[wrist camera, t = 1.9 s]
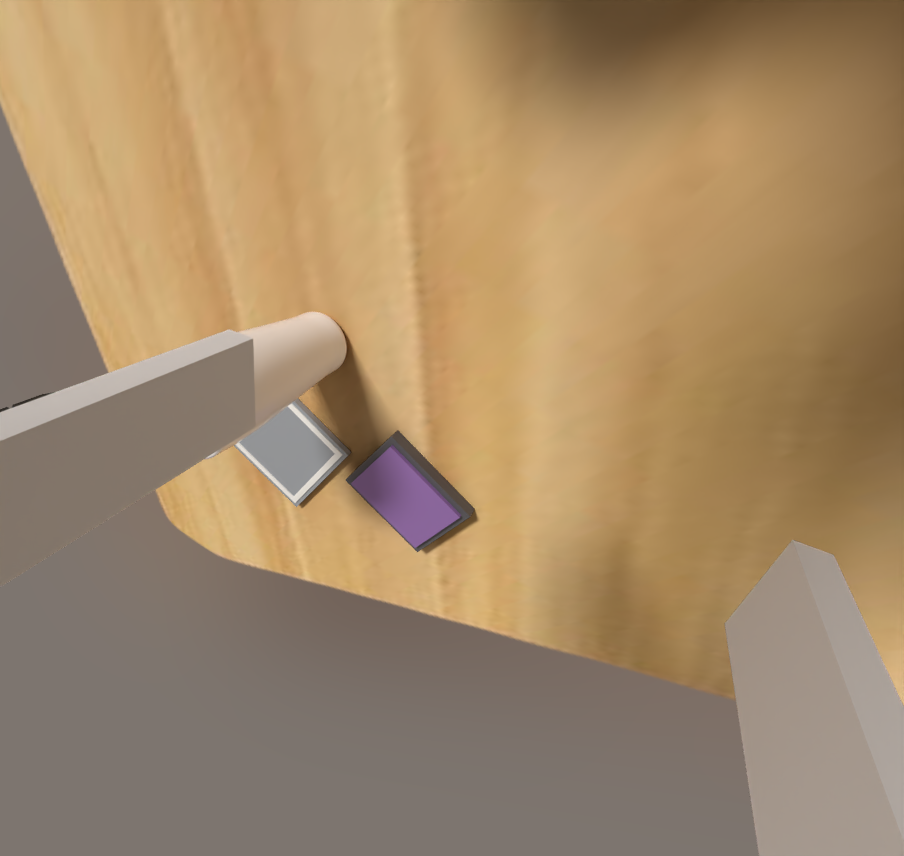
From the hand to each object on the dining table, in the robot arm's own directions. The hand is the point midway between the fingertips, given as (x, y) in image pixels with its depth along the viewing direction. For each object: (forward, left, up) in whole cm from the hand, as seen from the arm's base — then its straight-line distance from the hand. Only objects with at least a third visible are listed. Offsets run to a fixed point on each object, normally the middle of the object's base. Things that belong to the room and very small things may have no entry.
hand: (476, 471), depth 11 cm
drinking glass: (-12, -19, -24) cm, 33 cm away
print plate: (-9, -32, -24) cm, 41 cm away
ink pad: (+3, -24, -24) cm, 34 cm away
